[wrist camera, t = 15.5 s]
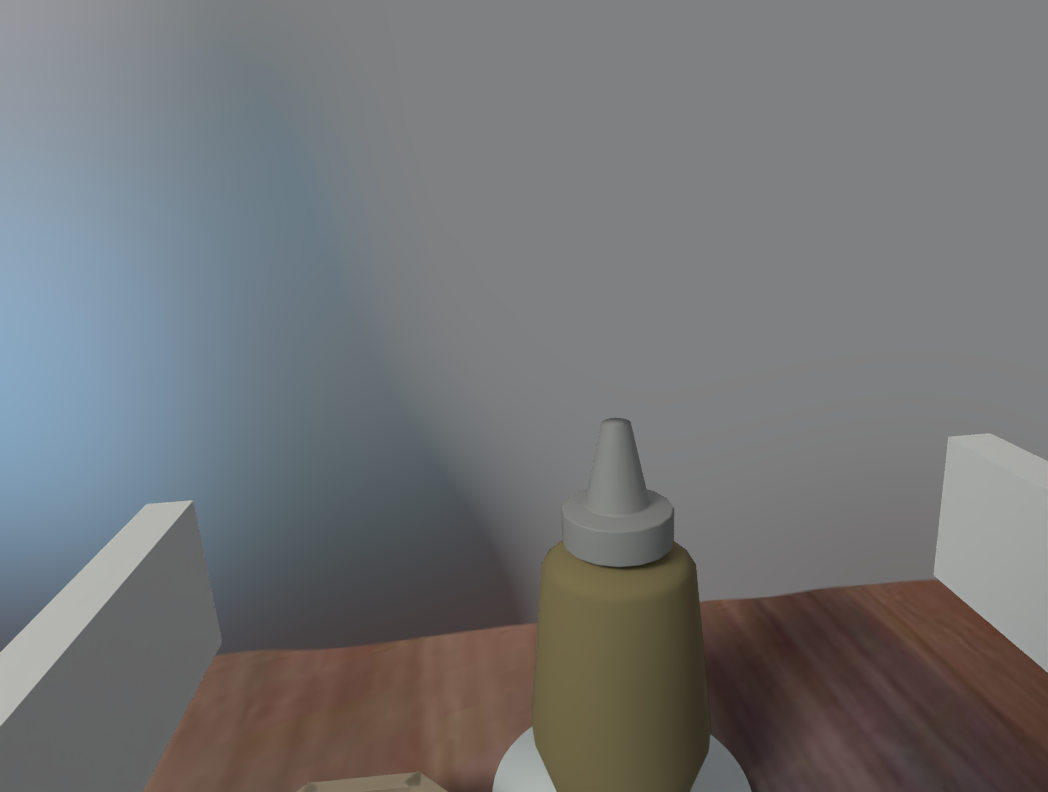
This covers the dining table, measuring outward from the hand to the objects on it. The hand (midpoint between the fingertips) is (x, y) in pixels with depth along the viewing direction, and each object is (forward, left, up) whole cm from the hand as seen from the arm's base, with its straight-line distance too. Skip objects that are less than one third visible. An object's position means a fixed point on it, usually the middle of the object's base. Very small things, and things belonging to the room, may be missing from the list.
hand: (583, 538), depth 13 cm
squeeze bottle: (-4, -16, -22) cm, 27 cm away
